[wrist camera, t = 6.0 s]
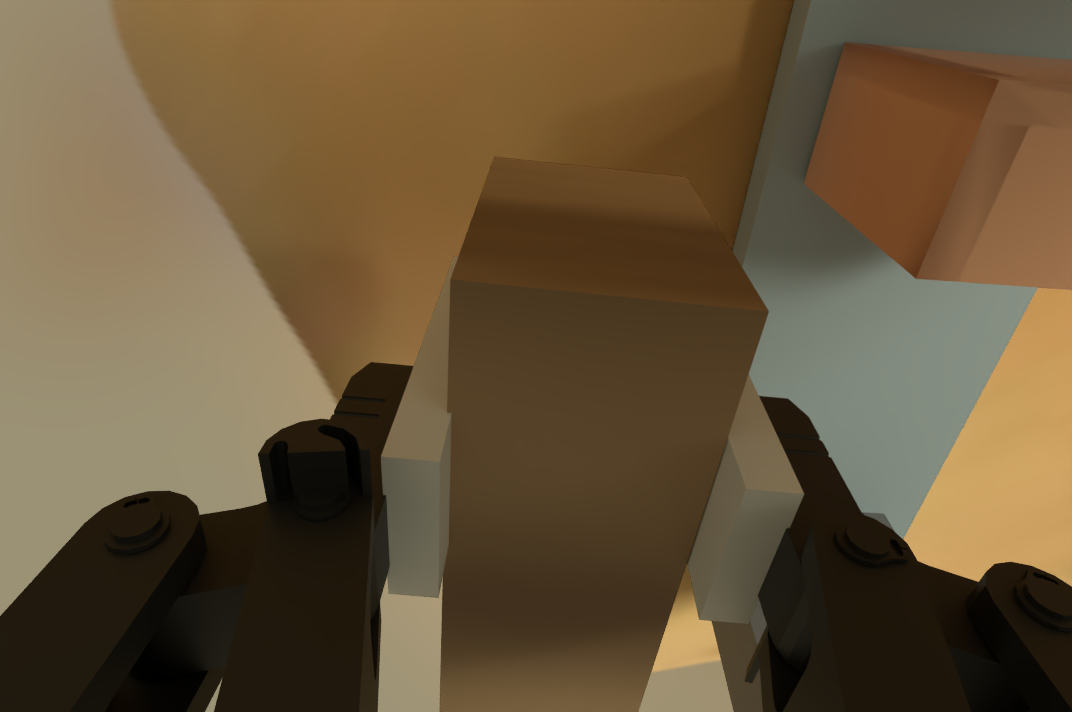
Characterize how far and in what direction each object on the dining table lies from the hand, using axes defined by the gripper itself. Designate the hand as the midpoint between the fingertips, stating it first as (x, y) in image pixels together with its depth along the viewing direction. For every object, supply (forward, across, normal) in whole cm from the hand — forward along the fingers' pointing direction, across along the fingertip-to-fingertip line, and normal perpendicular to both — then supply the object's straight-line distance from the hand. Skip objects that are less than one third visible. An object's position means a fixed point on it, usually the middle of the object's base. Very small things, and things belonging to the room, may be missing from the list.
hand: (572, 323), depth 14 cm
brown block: (+1, 0, -3) cm, 3 cm away
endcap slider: (+9, +12, +4) cm, 15 cm away
